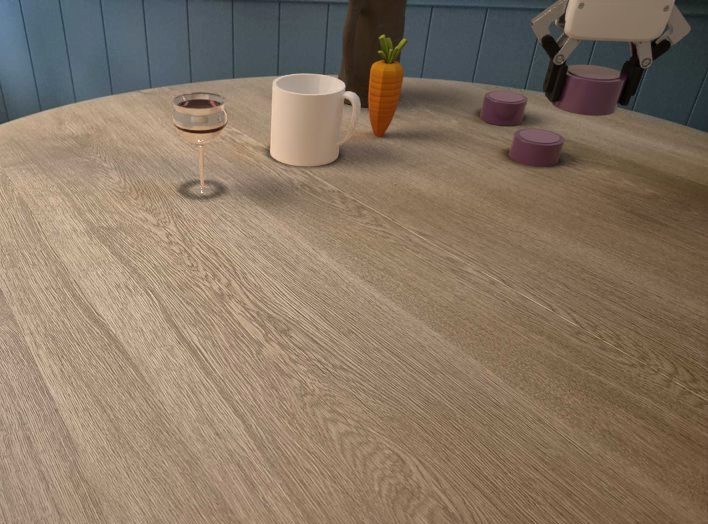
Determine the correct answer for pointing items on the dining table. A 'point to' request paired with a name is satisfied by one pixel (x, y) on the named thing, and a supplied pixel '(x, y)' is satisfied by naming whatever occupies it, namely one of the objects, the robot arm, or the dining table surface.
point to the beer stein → (368, 41)
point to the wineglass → (200, 122)
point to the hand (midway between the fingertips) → (585, 99)
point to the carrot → (385, 86)
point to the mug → (309, 119)
